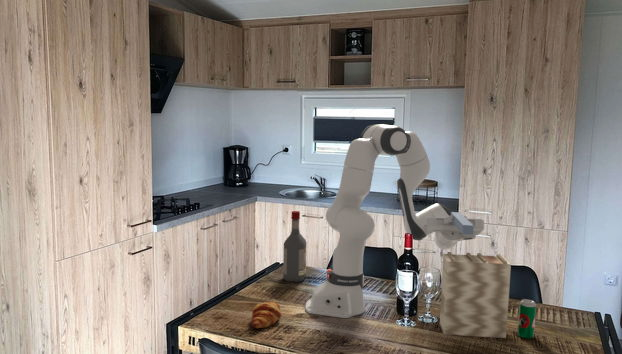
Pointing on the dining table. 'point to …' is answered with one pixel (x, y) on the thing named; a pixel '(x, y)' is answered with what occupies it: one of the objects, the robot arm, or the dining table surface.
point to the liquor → (294, 253)
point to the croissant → (265, 314)
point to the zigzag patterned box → (475, 295)
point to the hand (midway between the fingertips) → (458, 218)
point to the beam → (462, 223)
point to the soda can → (526, 319)
